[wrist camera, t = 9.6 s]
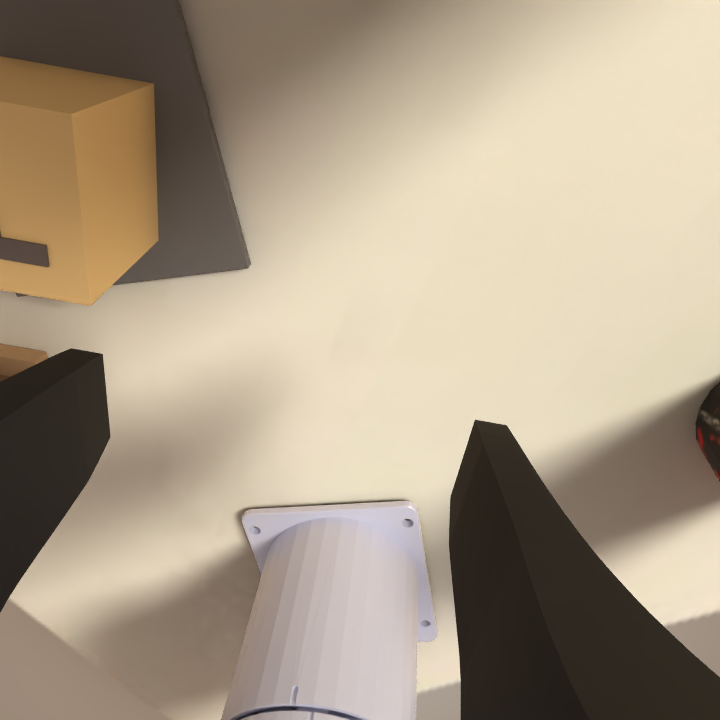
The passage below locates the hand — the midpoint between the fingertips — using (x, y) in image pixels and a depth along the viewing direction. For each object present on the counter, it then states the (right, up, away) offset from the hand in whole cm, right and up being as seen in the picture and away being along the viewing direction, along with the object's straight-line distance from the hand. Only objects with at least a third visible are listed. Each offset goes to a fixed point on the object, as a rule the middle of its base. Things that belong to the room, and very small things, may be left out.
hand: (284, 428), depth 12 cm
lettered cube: (-8, +8, +8) cm, 13 cm away
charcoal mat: (-8, +8, +8) cm, 14 cm away
